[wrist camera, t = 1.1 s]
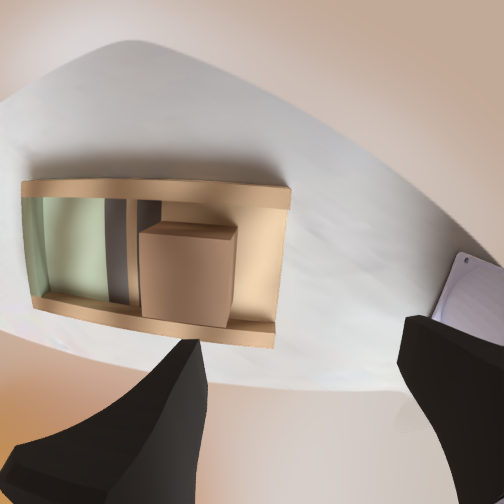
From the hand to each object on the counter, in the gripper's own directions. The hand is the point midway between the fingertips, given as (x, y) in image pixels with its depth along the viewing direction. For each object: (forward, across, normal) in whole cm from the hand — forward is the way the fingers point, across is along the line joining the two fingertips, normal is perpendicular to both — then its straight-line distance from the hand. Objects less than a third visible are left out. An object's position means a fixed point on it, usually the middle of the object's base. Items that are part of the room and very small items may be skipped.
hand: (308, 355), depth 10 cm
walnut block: (+11, +5, 0) cm, 12 cm away
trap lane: (+12, +9, -1) cm, 16 cm away
